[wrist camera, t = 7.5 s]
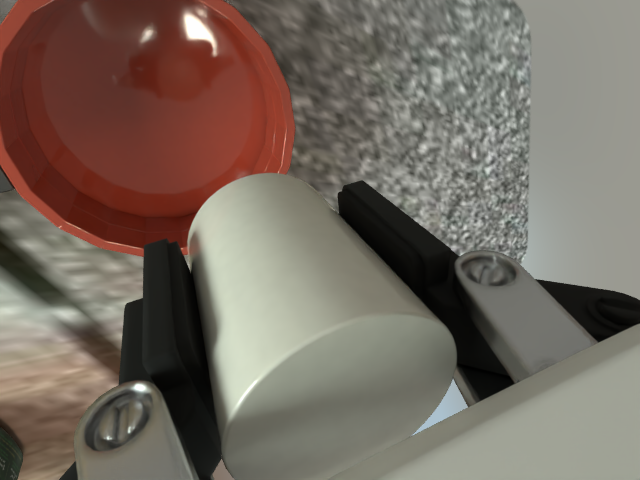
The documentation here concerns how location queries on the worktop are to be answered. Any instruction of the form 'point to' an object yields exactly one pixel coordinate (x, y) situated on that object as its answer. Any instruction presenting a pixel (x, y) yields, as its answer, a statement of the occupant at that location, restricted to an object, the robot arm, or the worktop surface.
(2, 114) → the pan
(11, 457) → the coffee jar
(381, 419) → the pale grey cylinder
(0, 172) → the pan handle
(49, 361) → the worktop surface
